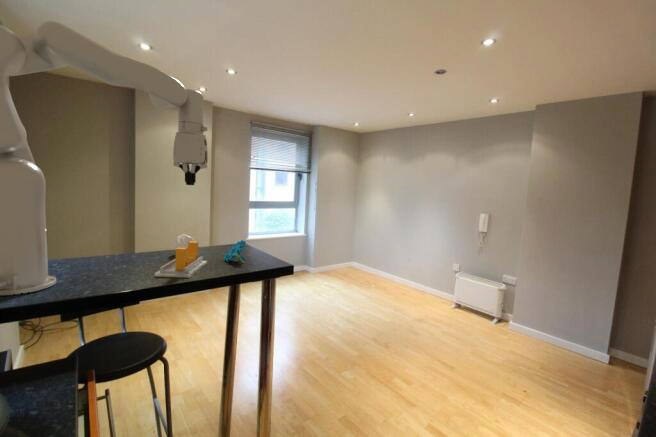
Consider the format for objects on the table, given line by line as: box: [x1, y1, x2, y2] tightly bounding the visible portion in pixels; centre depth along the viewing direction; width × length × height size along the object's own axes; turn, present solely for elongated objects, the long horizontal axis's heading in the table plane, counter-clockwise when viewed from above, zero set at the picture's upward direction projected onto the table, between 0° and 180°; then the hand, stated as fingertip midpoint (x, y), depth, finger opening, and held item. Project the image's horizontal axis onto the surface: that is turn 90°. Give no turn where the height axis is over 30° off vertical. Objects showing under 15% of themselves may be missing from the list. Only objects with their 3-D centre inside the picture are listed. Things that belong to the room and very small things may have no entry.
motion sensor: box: [173, 233, 197, 250], centre depth 117 cm, size 8×8×8 cm
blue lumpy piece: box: [223, 239, 247, 263], centre depth 113 cm, size 11×6×10 cm
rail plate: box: [154, 256, 208, 279], centre depth 98 cm, size 16×10×3 cm, turn 4°
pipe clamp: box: [175, 241, 199, 270], centre depth 97 cm, size 12×4×6 cm, turn 5°
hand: (190, 184), depth 103 cm, fingers closed
